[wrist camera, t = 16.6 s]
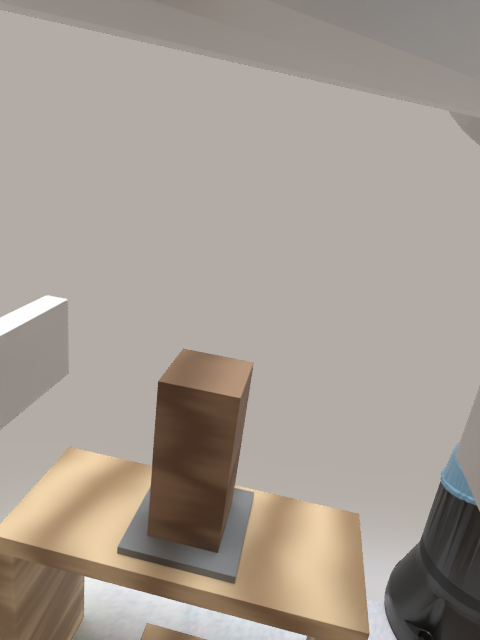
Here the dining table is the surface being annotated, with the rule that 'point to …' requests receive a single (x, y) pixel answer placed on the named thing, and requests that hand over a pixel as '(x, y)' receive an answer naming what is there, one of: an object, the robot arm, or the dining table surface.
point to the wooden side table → (175, 556)
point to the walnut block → (197, 447)
